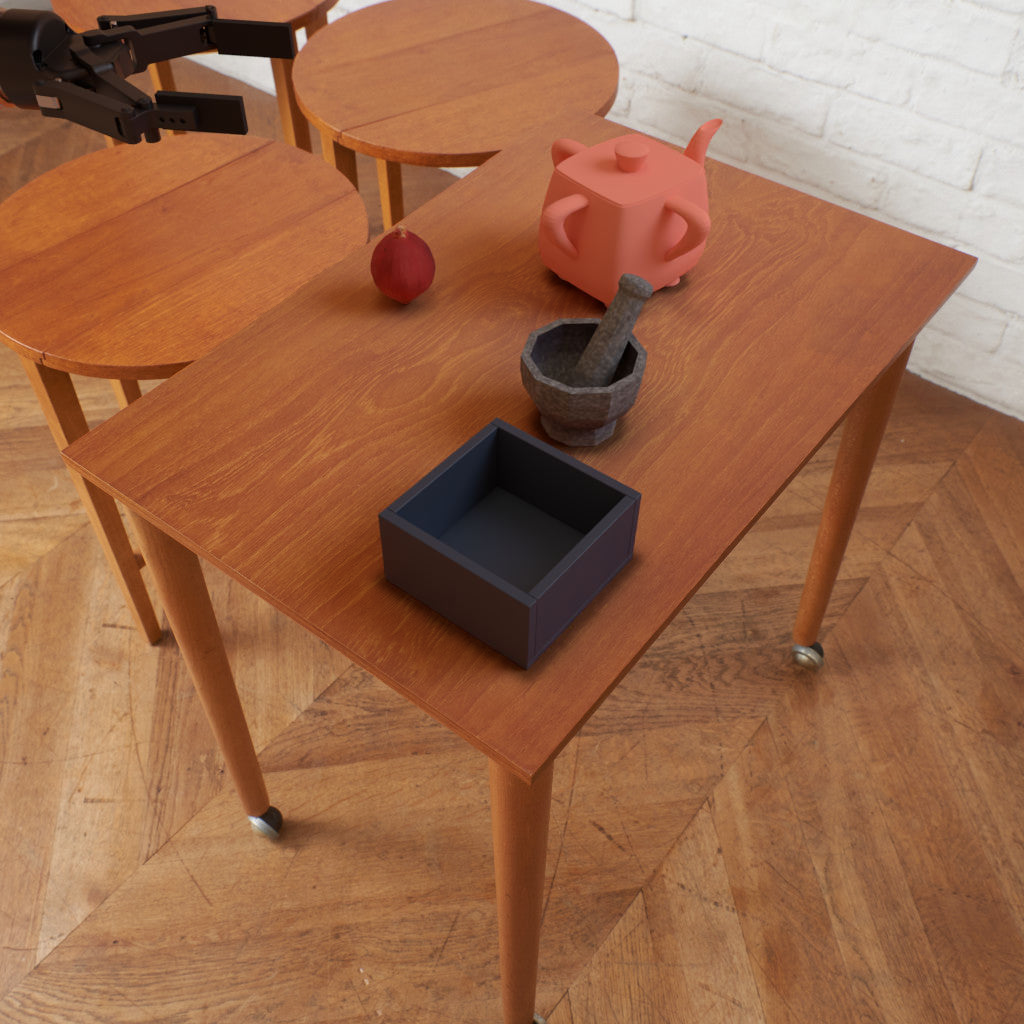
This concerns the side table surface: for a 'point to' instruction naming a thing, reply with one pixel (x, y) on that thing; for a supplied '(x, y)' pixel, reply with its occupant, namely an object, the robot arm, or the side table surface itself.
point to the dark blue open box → (509, 539)
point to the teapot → (625, 211)
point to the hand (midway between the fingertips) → (270, 76)
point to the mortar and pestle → (587, 368)
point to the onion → (402, 265)
